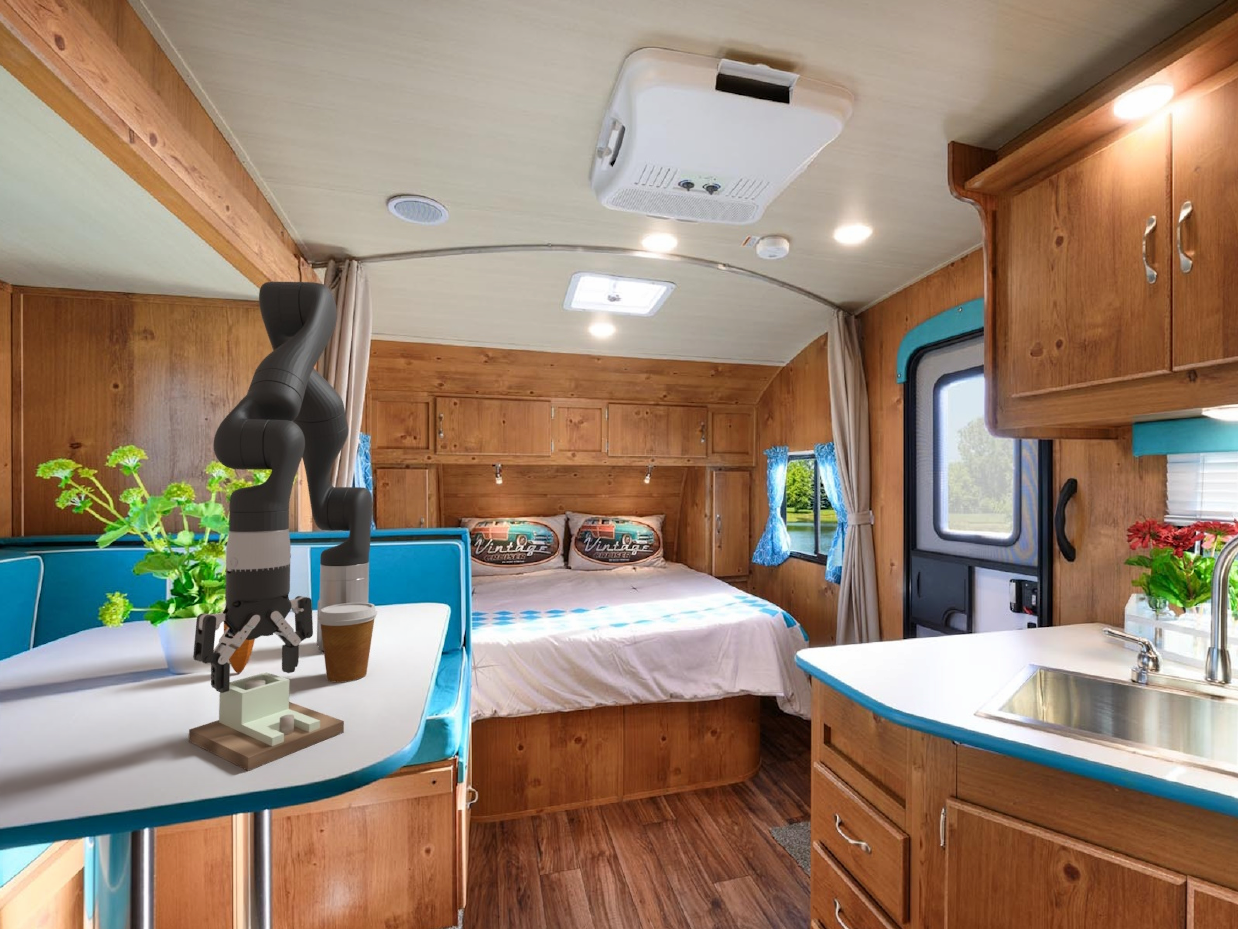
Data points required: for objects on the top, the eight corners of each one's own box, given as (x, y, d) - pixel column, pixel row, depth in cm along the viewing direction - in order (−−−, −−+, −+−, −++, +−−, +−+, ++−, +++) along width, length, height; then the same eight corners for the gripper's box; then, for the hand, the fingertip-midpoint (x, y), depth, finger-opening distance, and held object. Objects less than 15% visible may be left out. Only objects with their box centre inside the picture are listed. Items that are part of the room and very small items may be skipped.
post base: (188, 741, 73) (190, 690, 74) (282, 709, 84) (283, 665, 84) (248, 770, 66) (249, 714, 66) (343, 732, 76) (344, 683, 76)
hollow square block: (218, 722, 76) (219, 684, 76) (265, 707, 81) (266, 672, 81) (272, 746, 69) (273, 705, 69) (319, 728, 74) (320, 689, 74)
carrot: (235, 679, 97) (237, 592, 97) (215, 676, 98) (217, 590, 99) (262, 670, 102) (264, 587, 102) (242, 667, 103) (244, 585, 104)
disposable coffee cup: (304, 680, 97) (305, 610, 97) (353, 664, 105) (354, 600, 105) (340, 689, 92) (341, 616, 93) (388, 672, 101) (389, 605, 101)
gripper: (295, 555, 86) (293, 662, 85) (185, 567, 73) (183, 692, 73) (324, 558, 82) (322, 670, 81) (214, 572, 69) (211, 704, 69)
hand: (256, 681), depth 77 cm, fingers open, 8 cm apart
